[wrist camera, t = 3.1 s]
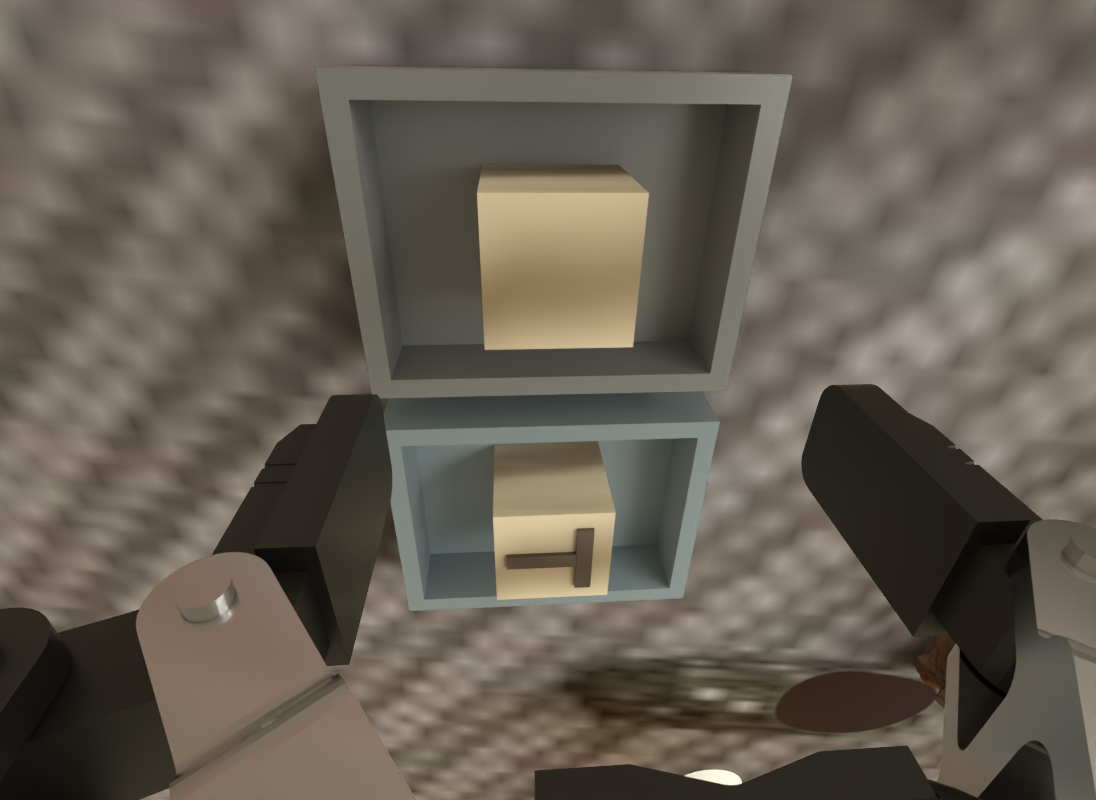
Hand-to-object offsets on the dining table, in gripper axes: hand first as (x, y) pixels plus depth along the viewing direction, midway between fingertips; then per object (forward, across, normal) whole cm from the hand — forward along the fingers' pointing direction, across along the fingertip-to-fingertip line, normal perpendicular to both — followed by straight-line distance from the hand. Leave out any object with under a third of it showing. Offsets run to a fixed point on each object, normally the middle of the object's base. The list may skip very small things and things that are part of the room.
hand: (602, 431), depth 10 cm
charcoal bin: (+14, 0, 0) cm, 14 cm away
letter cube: (+14, 0, +12) cm, 18 cm away
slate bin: (+14, 0, +12) cm, 19 cm away
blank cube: (+14, 0, 0) cm, 14 cm away
